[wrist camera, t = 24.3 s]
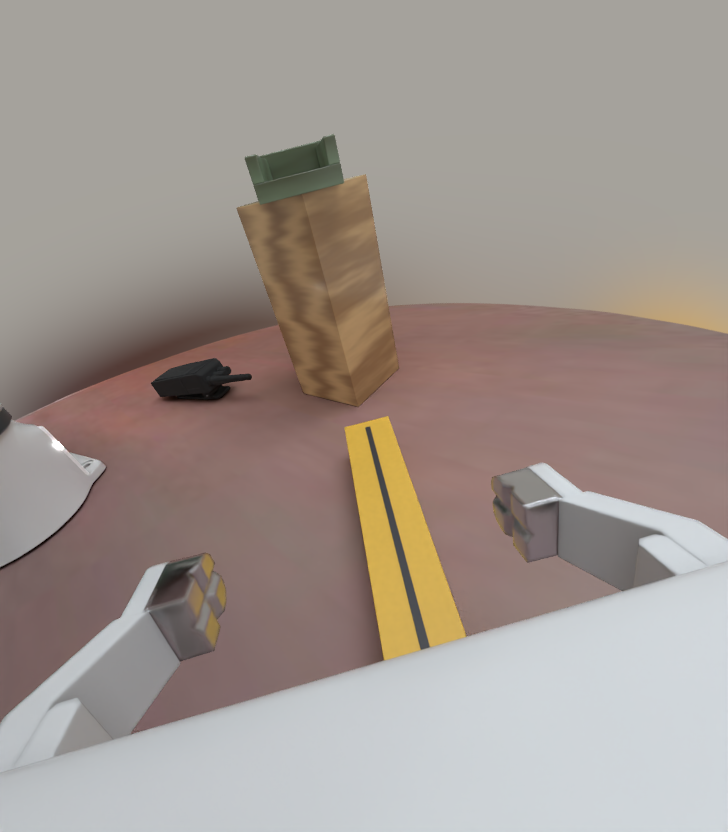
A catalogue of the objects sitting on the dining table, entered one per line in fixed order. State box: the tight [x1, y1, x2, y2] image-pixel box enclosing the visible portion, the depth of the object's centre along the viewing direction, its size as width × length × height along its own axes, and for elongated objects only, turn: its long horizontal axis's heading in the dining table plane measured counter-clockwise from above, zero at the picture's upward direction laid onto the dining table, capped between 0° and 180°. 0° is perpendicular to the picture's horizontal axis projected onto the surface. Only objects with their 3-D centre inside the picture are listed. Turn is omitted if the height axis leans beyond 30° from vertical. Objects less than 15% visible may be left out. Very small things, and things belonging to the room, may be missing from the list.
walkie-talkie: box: [151, 358, 252, 399], centre depth 55 cm, size 6×6×20 cm
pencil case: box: [345, 416, 467, 660], centre depth 28 cm, size 22×4×4 cm, turn 9°
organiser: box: [237, 134, 399, 407], centre depth 43 cm, size 15×14×28 cm
